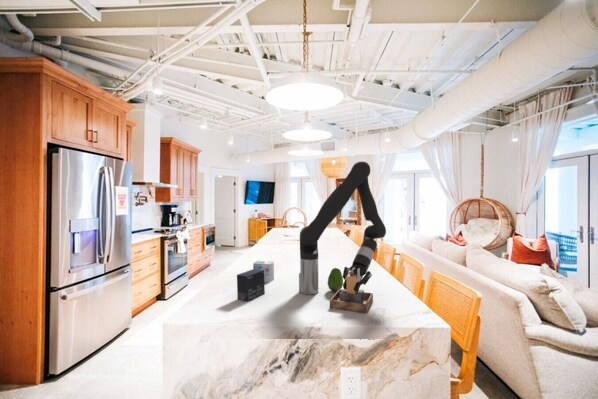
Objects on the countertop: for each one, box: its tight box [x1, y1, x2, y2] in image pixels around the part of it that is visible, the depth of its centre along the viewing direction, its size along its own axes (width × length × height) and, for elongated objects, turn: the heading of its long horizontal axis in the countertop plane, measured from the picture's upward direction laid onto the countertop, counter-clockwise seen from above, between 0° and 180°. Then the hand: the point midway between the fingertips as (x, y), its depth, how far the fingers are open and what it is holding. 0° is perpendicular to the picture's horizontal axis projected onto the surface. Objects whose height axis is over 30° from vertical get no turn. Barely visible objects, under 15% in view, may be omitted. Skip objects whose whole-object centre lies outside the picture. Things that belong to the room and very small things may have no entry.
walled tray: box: [329, 288, 374, 314], centre depth 132 cm, size 16×16×6 cm
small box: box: [236, 268, 266, 302], centre depth 143 cm, size 13×7×12 cm, turn 149°
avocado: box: [327, 267, 344, 293], centre depth 150 cm, size 8×8×12 cm
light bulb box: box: [252, 260, 275, 284], centre depth 170 cm, size 11×7×11 cm, turn 73°
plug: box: [346, 271, 358, 294], centre depth 132 cm, size 4×4×12 cm
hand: (349, 289), depth 131 cm, fingers closed on plug, 5 cm apart
